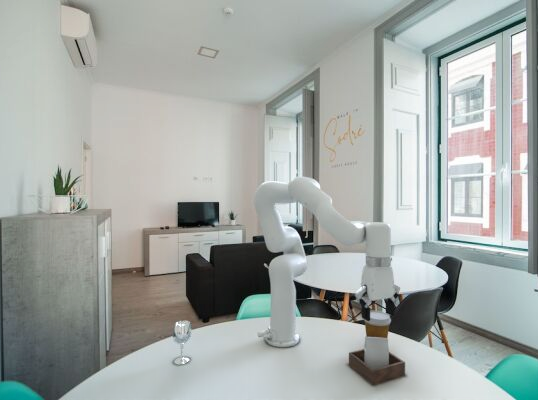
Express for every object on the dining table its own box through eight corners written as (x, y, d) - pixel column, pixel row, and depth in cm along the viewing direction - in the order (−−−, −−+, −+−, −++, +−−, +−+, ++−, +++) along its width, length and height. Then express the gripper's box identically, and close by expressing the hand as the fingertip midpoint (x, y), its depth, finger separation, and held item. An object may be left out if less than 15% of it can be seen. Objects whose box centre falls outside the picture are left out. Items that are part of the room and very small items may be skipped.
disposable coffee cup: (387, 343, 110) (387, 310, 110) (393, 356, 101) (394, 320, 101) (361, 341, 111) (361, 309, 111) (365, 354, 102) (365, 319, 102)
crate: (373, 385, 84) (373, 371, 84) (348, 365, 95) (348, 352, 95) (405, 375, 90) (405, 362, 90) (378, 357, 100) (378, 345, 100)
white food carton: (388, 374, 90) (389, 341, 90) (365, 372, 91) (366, 339, 91) (386, 367, 94) (386, 336, 94) (364, 365, 94) (364, 334, 94)
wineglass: (194, 358, 97) (195, 321, 97) (181, 367, 91) (182, 328, 92) (181, 354, 99) (182, 318, 99) (167, 362, 94) (168, 324, 94)
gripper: (390, 258, 100) (390, 309, 99) (348, 261, 92) (348, 317, 92) (407, 261, 93) (408, 316, 93) (364, 266, 85) (364, 326, 85)
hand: (378, 316), depth 92 cm, fingers open, 9 cm apart
